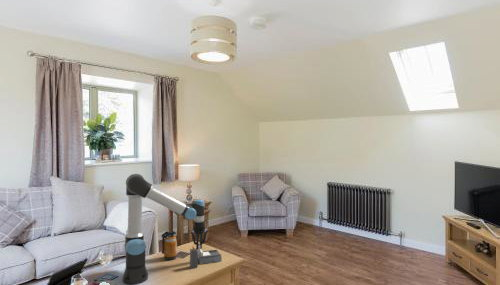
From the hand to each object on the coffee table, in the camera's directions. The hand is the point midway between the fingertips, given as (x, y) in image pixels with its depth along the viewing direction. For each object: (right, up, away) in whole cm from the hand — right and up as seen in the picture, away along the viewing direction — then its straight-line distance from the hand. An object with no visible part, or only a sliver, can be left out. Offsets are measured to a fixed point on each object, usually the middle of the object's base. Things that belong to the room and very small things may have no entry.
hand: (199, 253), depth 224 cm
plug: (-2, -6, -10) cm, 12 cm away
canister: (-23, -6, +5) cm, 24 cm away
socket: (+6, -6, +2) cm, 8 cm away
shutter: (+4, -2, +2) cm, 5 cm away
